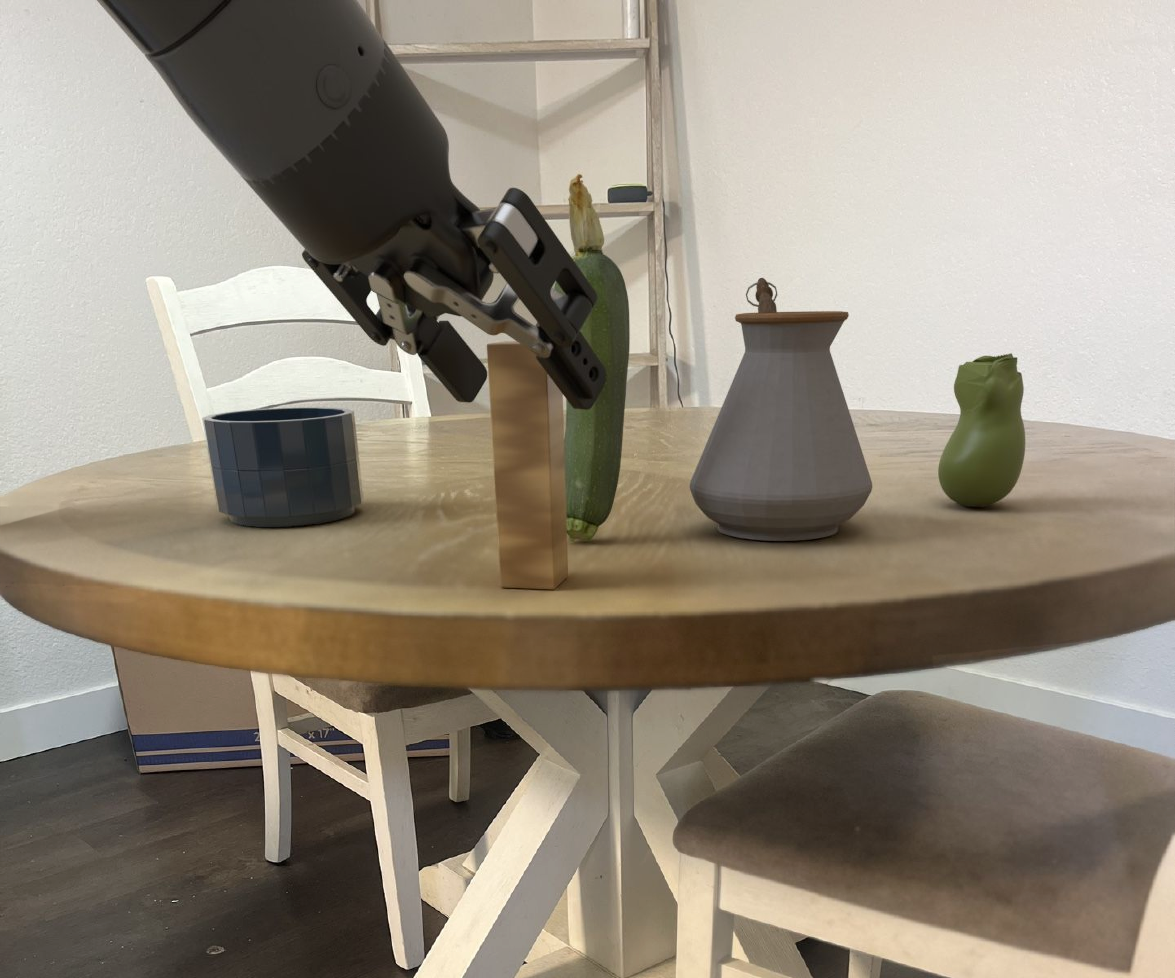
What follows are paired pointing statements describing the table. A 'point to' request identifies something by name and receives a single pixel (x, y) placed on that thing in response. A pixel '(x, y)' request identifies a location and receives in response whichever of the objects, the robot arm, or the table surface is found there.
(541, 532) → the long rectangular wooden block
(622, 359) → the vegetable
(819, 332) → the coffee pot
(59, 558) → the table surface
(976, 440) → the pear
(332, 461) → the bowl
